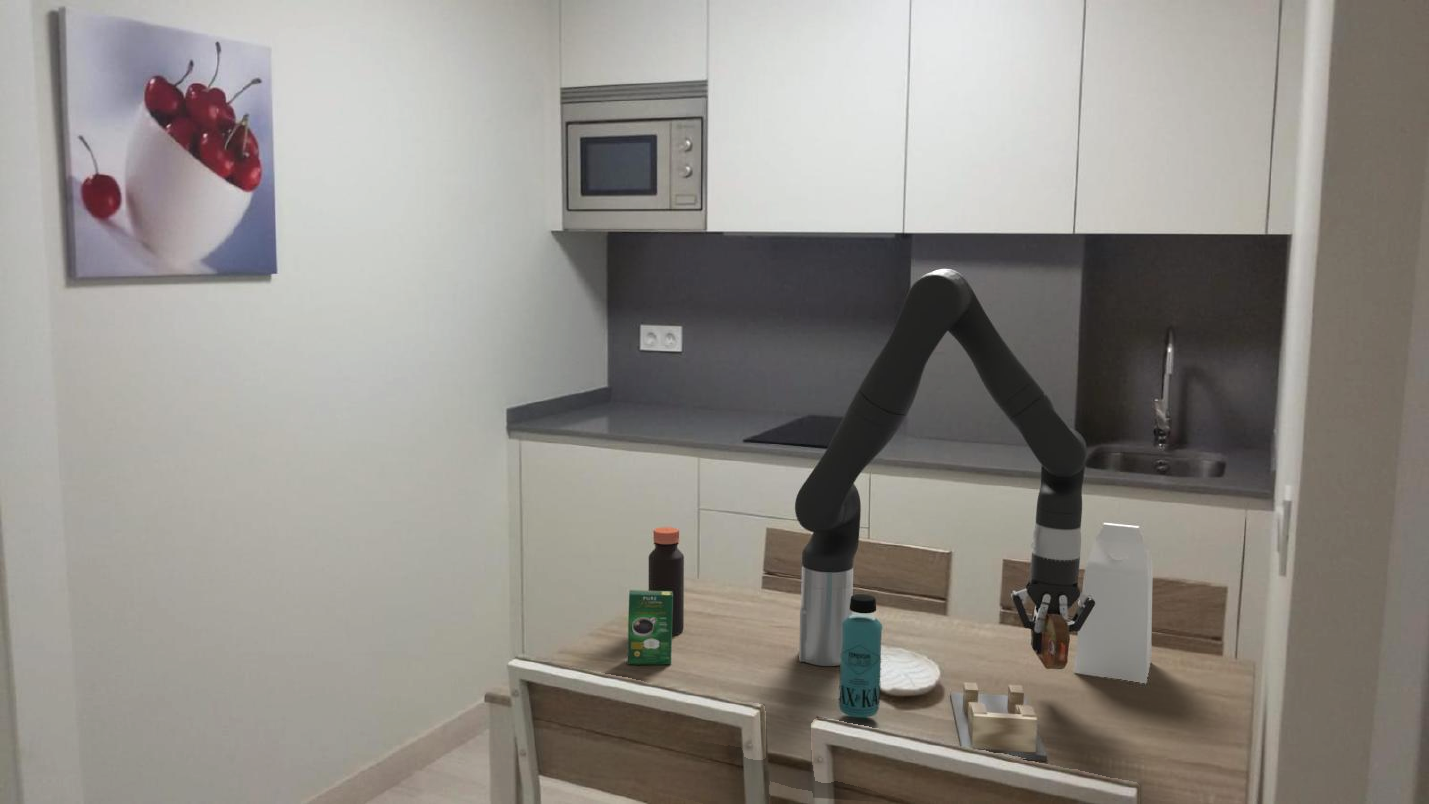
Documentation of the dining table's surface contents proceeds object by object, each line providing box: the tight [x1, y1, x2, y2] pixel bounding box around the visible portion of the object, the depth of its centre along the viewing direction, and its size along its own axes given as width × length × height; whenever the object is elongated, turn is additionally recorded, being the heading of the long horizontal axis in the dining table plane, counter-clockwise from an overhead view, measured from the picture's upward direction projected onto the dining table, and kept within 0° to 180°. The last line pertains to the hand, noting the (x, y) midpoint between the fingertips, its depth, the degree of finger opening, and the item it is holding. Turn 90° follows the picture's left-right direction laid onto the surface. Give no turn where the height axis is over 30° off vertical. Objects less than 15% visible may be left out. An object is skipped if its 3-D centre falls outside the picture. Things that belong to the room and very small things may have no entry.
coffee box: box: [627, 589, 673, 666], centre depth 198 cm, size 8×3×13 cm, turn 92°
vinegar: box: [648, 526, 685, 637], centre depth 215 cm, size 7×7×20 cm
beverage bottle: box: [837, 593, 883, 718], centre depth 175 cm, size 6×7×20 cm
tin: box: [1030, 604, 1071, 670], centre depth 183 cm, size 15×3×8 cm, turn 177°
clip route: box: [949, 681, 1048, 762], centre depth 173 cm, size 12×22×6 cm, turn 173°
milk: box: [1073, 522, 1154, 685], centre depth 197 cm, size 12×12×26 cm
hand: (1048, 652), depth 183 cm, fingers closed on tin, 2 cm apart
